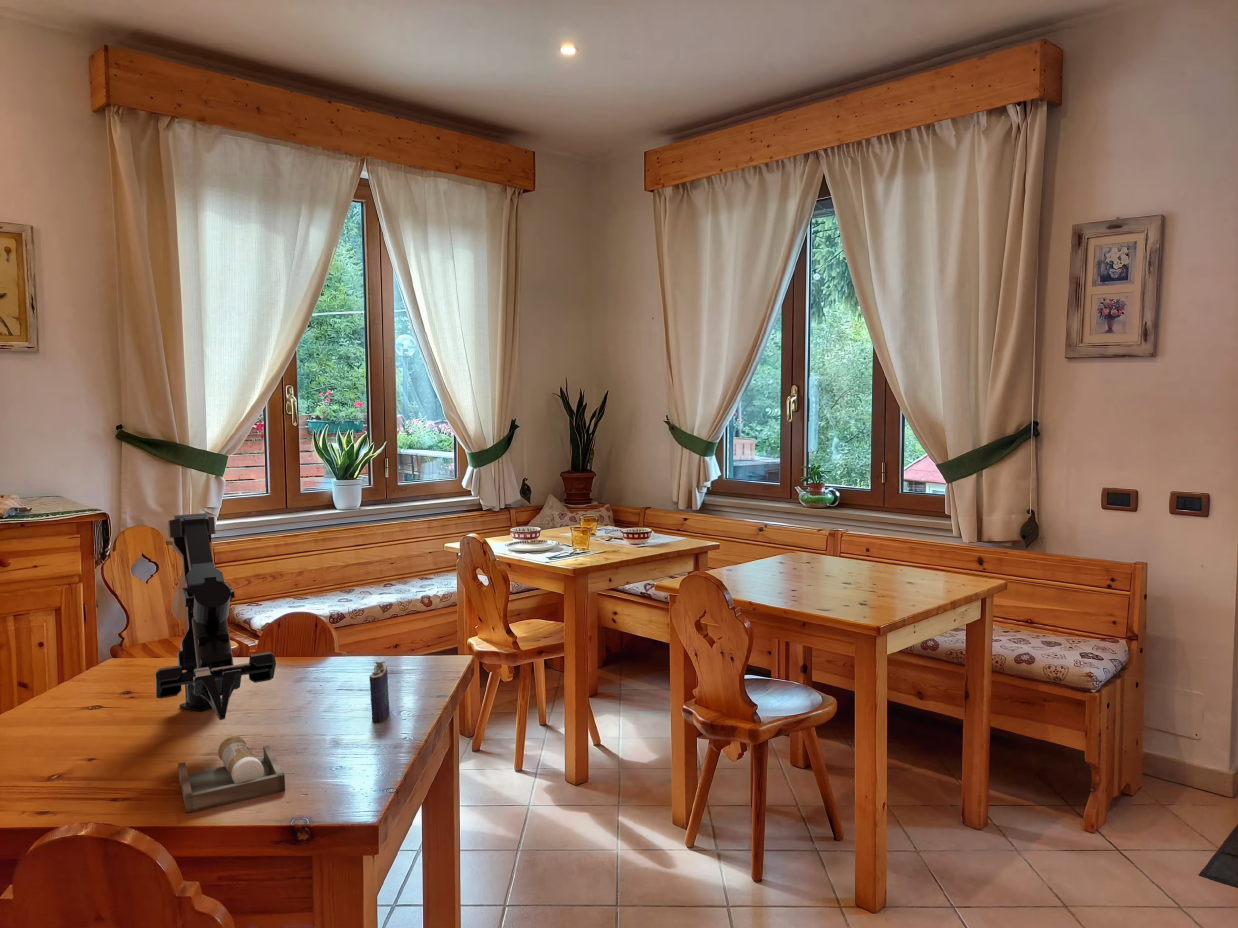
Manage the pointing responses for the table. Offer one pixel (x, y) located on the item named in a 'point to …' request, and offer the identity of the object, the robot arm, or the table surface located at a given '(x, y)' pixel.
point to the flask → (379, 693)
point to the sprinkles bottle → (240, 760)
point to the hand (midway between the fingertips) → (222, 718)
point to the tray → (228, 784)
